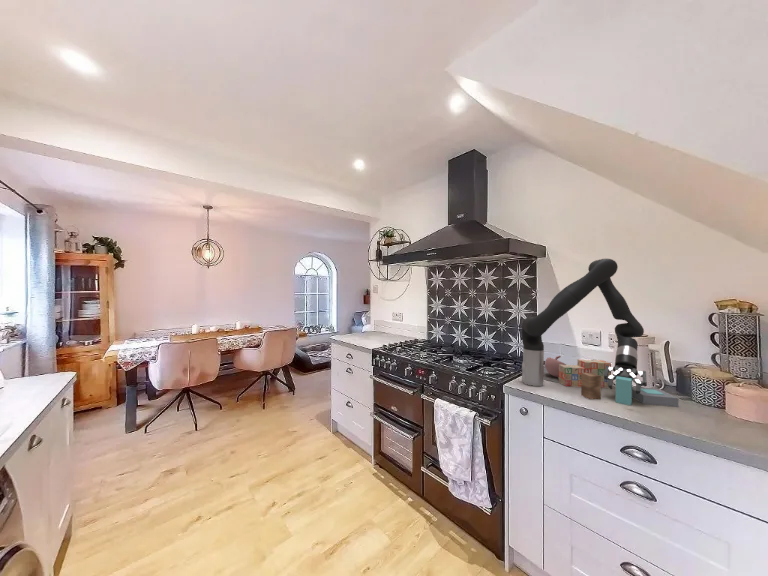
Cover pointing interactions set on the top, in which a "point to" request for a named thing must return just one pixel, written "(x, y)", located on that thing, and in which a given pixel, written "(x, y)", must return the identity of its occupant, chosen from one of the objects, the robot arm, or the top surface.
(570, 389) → the top surface
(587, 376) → the walnut block
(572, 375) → the stack of blocks
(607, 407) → the top surface
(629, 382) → the teal block
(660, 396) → the grey square base
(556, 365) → the pink apple
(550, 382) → the top surface
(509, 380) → the top surface
